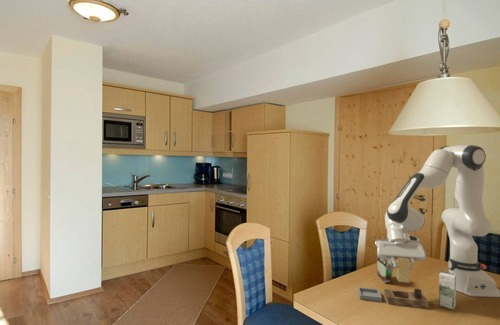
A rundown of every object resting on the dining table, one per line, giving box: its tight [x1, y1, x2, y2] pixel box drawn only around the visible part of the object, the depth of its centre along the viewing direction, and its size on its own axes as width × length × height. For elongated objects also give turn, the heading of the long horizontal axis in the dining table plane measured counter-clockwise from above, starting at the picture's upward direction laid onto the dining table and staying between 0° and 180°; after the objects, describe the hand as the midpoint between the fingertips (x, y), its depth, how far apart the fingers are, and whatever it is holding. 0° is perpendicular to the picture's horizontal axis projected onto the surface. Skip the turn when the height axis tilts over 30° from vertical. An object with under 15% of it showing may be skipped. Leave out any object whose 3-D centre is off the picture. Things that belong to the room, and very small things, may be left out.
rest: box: [357, 286, 383, 303], centre depth 135 cm, size 9×8×2 cm
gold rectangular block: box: [396, 257, 411, 283], centre depth 130 cm, size 4×4×10 cm
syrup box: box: [438, 270, 457, 311], centre depth 127 cm, size 6×6×14 cm
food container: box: [376, 256, 395, 284], centre depth 153 cm, size 12×6×10 cm, turn 179°
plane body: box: [383, 288, 429, 310], centre depth 130 cm, size 16×8×6 cm, turn 76°
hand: (403, 268), depth 130 cm, fingers closed on gold rectangular block, 4 cm apart
